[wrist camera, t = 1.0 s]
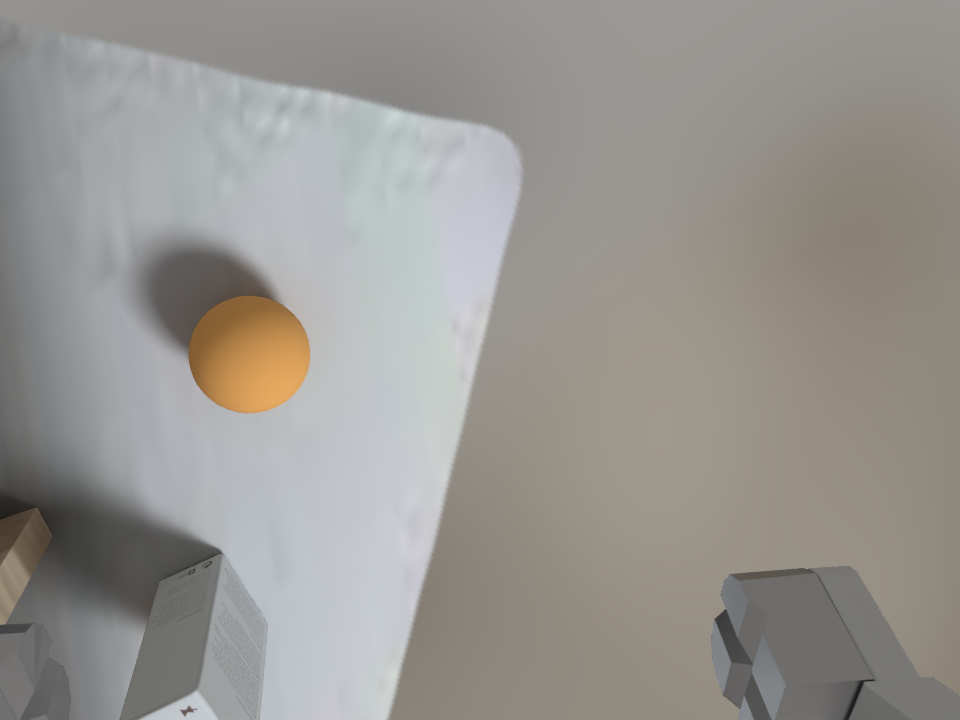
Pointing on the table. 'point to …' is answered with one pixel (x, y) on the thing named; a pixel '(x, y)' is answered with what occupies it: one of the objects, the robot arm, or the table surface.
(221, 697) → the skincare box
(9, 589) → the bridge
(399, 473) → the table surface
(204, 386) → the ball
